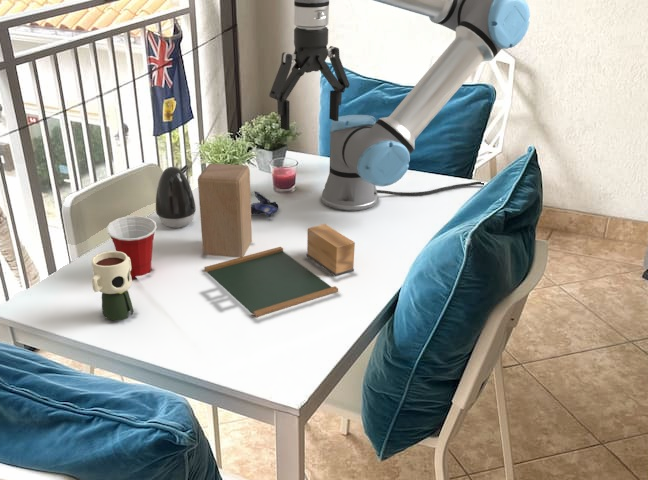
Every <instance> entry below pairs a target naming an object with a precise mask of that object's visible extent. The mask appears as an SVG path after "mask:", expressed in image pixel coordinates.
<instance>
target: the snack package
mask: <svg viewBox="0 0 648 480" xmlns="http://www.w3.org/2000/svg"><path fill="white" fill-rule="evenodd" d="M253 195H254V197H255V198H256V199H257V201H258V202H252V203H251V215H255V216H256V215H265V216H268V217H270V218H271V217H272V216H273V215H275V213H276V212H278V210H279V204H278V203H277V201H273V202H271V200H270V199H269V198H268V197H266V196H265V195H263V194H262V193H260V192H258V191H255V190H254V191H253ZM270 218H268V219H269V220H271V219H270Z"/></svg>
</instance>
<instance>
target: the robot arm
mask: <svg viewBox="0 0 648 480" xmlns="http://www.w3.org/2000/svg"><path fill="white" fill-rule="evenodd" d="M373 1H374V2H376V3H381V4H383V5H384V4H385V5H387V6H391V7H394V8H398V9H401V10H405V11H409V12H410V13H411V12H412V13H414V14H419V15H422V16H425V17H428V19H429V21H431V22H432V23H434V24H436V25H440V26H443V27H445V28H447V29H449V30H451V31H453V32H455V38H454V40H452V42H451V43H450V44H449V45H448V47H447V48H446V49H445V50H444V51H443V52H442V54H441V55H440V56H439V57H438V59H436V61H435V62H434V63H433V64H432V65H431V66H430V68H428V70H427V71H426V72H425V73H424V75H423V76H422V77H421V78H420V80H418V82H416V84H415V86H413V88H412V89H411V90H410V91H409V93H408V94H407V95H406V96H405V97H404V98H403V99H402V100H401V102H400V103H399V104H398V105H397V106H396V108H395V109H394V110H393V111H392V112H391V114H389V116H387V117H386V116H384V117H379V118H378V119H377V120H376V117H374V116H372V115H368V114H349V115H347V114H346V115H341V116H340V115H339V113H340V106H341V104H342V97H343V93H345V92H346V89H348V88H350V82H349V79H348V76H347V74H346V71H345V68H344V66H343V63H342V61H341V57H340V48H339V47H337V46H333V45H330V46H329V47H327V46H328V44H329V28H328V25H329V18H330V17H329V15H330V0H294V2H293V25H294V26H295V27H294V29H293V46H294V50H293V51H294V52H293V53H288V52H285V51H284V52H282V53H281V60H280V65H279V67H278V71H277V73H276V75H275V79H274V81H273V83H272V86H271V89H270V92H269V97H270V98H272V99H274V100H275V101H277V104H276V105H277V115H279V116H280V129H282V130H285V131H290V100H288V97H289V96H290V94H291V93H292V91H293V90H294V89H295V87H296V85H297V83H298V82H299V80H300V78H301V77H302V76H304V75H305V73H306V74H308V73H312V72H320V73H321V74H322V76H323V77H324V78H325V80H326V81H327V82H328V84H329V85H330V86H331V88H332V90H330V91H329V116H328V117H329V120H331V124H330V130H329V135H330V137H329V173H328V176H327V179H326V182H325V185H324V188H323V190H322V194H321V201H322V203H323V204H324V205H325V206H327V207H329V208H330V209H331V208H332V209H334V210H339V211H348V212H350V211H351V212H354V211H355V212H356V211H363V210H368V209H371V208H372V207H374V206H376V205H377V203H378V196H379V195H378V194H385V195H392V196H393V195H394V196H422V195H429V194H430V195H431V194H435V193H438V192H442V191H446V190H447V191H448V190H452V189H456V188H463V187H464V188H465V187H472V186H476V185H481V186H484V183H485V182H484V183H481V182H482V181H473V182H468V183H467V182H466V183H457V184H453V185H448V186H443V187H439V188H434V189H431V190H426V191H415V192H414V191H413V192H409V191H408V192H407V191H403V192H402V191H391V190H382V189H377V187H389V186H392V185H394V184H396V183H397V182H399V181H400V180H401V179H403V177H404V176H405V175H406V174H407V172H408V170H409V168H410V161H411V157H410V155H412V153H413V152H414V151H415V149H416V146H415V145H416V144H415V141H416V139H417V138H418V137H419V136H420V135H421V133H422V132H423V131H424V130H425V129H426V127H428V126H429V124H430V123H431V122H432V121H433V120H434V118H435V117H437V115H438V114H439V113H440V111H441V110H442V109H443V108H444V107H445V105H446V104H447V103H448V102H449V101H450V100H451V99H452V98H453V97H454V95H455V94H456V93H457V91H459V89H460V88H461V87H462V86H463V84H465V83H466V82H467V80H468V79H469V78H470V76H472V74H473V73H474V72H475V71H476V70H477V69H478V67H479V66H480V65H481V64H482V63H484V62H491V61H493V60H494V59H495V57H496V56H497V55H498V54H499V53H500V52H501V51H502V50H503V49H504V50H508V49H512V48H515V47H517V45H519V43H521V41H522V40H523V39H524V37H525V36H526V34H527V32H528V29H529V26H530V18H531V17H530V16H531V12H530V7H529V5H528V3H527V1H526V0H373ZM327 58H329V60H330V64H331V66H332V69H333V71H334V73H333V72H332V70H331V68H330V66H329V64H328V63H327V62H326V59H327ZM294 62H295V63H294ZM292 64H294V65H293V66H292ZM290 71H291V72H290Z"/></svg>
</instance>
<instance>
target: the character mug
mask: <svg viewBox="0 0 648 480" xmlns="http://www.w3.org/2000/svg"><path fill="white" fill-rule="evenodd" d="M91 268H92V273H93V276H92V277H91V286H92V291H93V292H94V293H97V292H100V293H101V312H102V316H103V317H104V318H105V319H108V320H110V321H114V322H116V321H118V322H119V321H123V320H127V319H129V314H128V313H129V312H130V316H133V314H134V313H135V311H134V310H135V309H134V307H133V303H132V299H131V297H130V296H131V295H130V293H129V290H130V289H131V286H132V281H133V279H132V278H131V274H130V271H131V261H130V258H129V257H128V256H127V255H126V254H125V253H123V252H119V251H116V250H108V251H103V252H99V253H98V254H95V255H94V256H93V257H92V258H91Z"/></svg>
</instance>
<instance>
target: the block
mask: <svg viewBox="0 0 648 480" xmlns="http://www.w3.org/2000/svg"><path fill="white" fill-rule="evenodd" d="M197 188H198V189H197V190H198V202H199V203H198V204H199V214H200V215H199V217H200V228H201V229H200V230H201V243H202V254H203V255H206V256H217V257H218V256H219V257H230V258H240V257H244V256H246V253H247V251H248V249H250V245H251V244H252V242H253V234H252V233H253V232H252V231H253V230H252V214H251V204H252V203H251V202H252V201H251V199H252V198H251V170H250V167H249V165H245V164H231V163H229V164H228V163H213V162H212V163H209V164H208V165H207V166H206V167H205V168H204V170H203V171H202V172H201V173H200V174H199V175H198V177H197Z"/></svg>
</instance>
